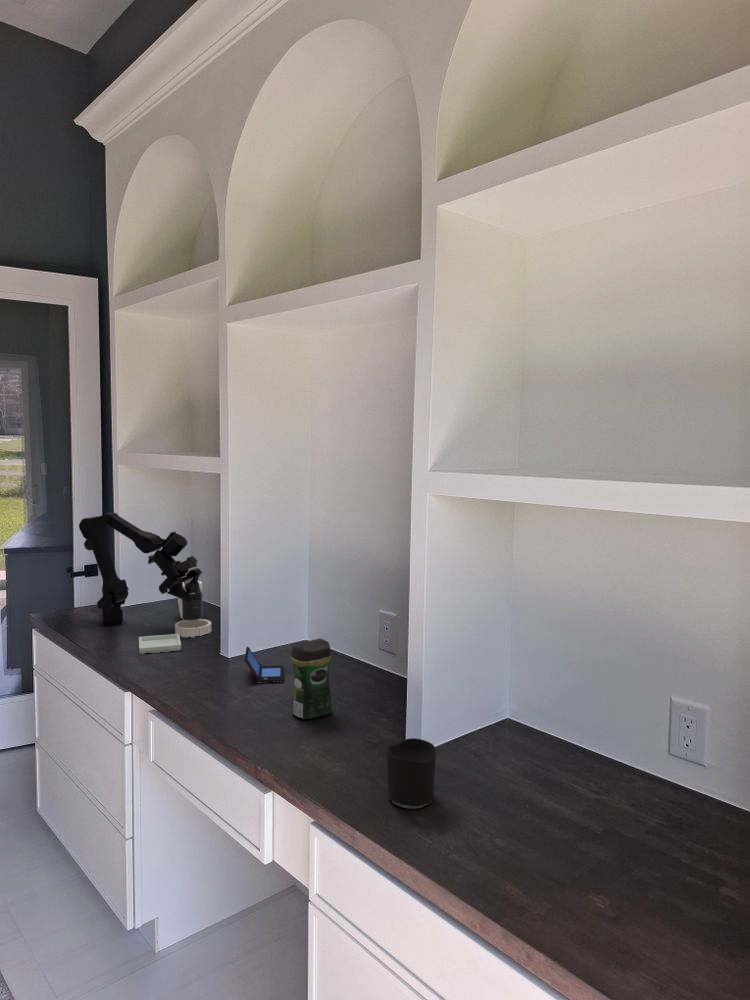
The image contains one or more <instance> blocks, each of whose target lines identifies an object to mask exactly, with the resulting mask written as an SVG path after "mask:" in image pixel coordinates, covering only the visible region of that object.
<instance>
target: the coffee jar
mask: <svg viewBox="0 0 750 1000" xmlns="http://www.w3.org/2000/svg"><path fill="white" fill-rule="evenodd" d="M331 652H332V651H331V645H330V643H329V641H327V640H326V639H324V638H321V637H319V638H317V639H312V640H307V641H302V642H295V643H293V644H292V645H291V653H290V654H291V658H290V660H291V662H292V665H293V675H294V676H293V686H292V687H293V689H292V691H293V692H292V701H291V712H292V714H293V716H294V715H295V716H297V717H299V718H303V719H302V720H304V719H310V718H315V717H319V718H321V717H320V716H322V717H325V716H328V715H330V714H331V713H332V711H333V710H332V709H333V708H332V707H333V704H332V703H333V702H332V694H331V686H330V673H329V671H330V670H329V667H330V663H331V658H332V653H331ZM329 713H330V714H329ZM327 714H328V715H327ZM324 715H325V716H324ZM295 716H294V717H295ZM297 717H296V718H297ZM299 718H298V719H299ZM315 719H316V718H315Z"/></svg>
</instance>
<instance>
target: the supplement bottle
mask: <svg viewBox="0 0 750 1000" xmlns="http://www.w3.org/2000/svg"><path fill="white" fill-rule="evenodd" d="M199 589H200V587H199V583H186V584H185V590H186V593H187V594H188V595H189V597H190V599H191V602H187V601H185V600H183V599H182V618H183V619H182V620H184V619H185V620H198V619H202V618H203V611H204V610H203V609H204V608H203V596H202V595H203V593H202V590H201V591H199Z"/></svg>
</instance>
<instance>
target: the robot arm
mask: <svg viewBox="0 0 750 1000" xmlns="http://www.w3.org/2000/svg"><path fill="white" fill-rule="evenodd" d="M106 527H110V528H111V529H113V530H114V531H116V532H118V533H120V534H122V535H123V536H124V537H126V538H128V539H129V540H131V541H132V542H133V543H134V546H135V547H136V548H137V549H138V550H139V551H140V552H141V553H143V554H150V555H148V559H147V564H148V565H151V564H153V563H154V564H155V565H156V566H157V567H158V569H159V570H160V571H161V573H160V575H161V576H162V577H163V576H165V577H166V578H165V579H164V580H163V581H162V582H161V583H160V584H159V586H158V591H159V592H160V593H161V594H162V595H164V594H167V595H170V596H174V597H176V598H177V597H178V598H180V599H183V600H185V601H187V602H191V599H190V597H189V595H188V594H187V593H186V591H185V590H184V588H183V585H182V582H184V583H185V584H186V583H198V581H199V578H200V576H201V575H202V574H203V572H202V570H201V569H200V568H198V567H197V566H198V565H197V564H198V559H196V557H195V556H194V555H191V556H189V557H186V559H185V560H184V561H181V560H176V559H175V558H174V557H177V556H178V555H180V553H181V552H182V551H183V550H184V549H185V548H186V547H187V545H188V540H187V539H186V537H184V536H183V535H181V534H179V533H177V532H176V531H172V532H170V533H169V534H168V535H167V537H166V538H162V537H161V536H160V535H158V534H155V533H153V532H150V531H145V530H142V529H141V528H139V527H137V526H136V525H134V524H132V523H131V522H129V521H128V520H126V519H125V518H123V517H121V516H120V515H118V513H117V512H108V513H104V514H103V515H99V516H97V515H95V516H92V517H91V516H90V517H85V518H82V519H81V520H80V522H79V524H78V528H79V531H80V534H81V535H82V537H83V538H84V539H85V540H86V541H87V542H89V544H90V546H91V550H92V552H93V555H94V558H95V560H96V564H97V567H98V570H99V573H100V575H101V578H102V582H103V583H102V587H101V592H102V593H101V594H102V597H101V598H100V599H99V600H98V601H97V602H96V606H97V608H98V609H101V611H102V612H101V613H102V614H101V615H102V624H101V625H102V626H116V625H122V623H123V621H124V610H123V609H124V608H122V605H125V603H126V599H128V596H129V590H130V589H129V587H128V585H127V581H126V580H125V579H121V578H119V576H118V574H117V572H116V568H115V566H114V563H113V560H112V557H111V554H110V551H109V548H108V545H107V542H106V540H105V539H106V538H105V537H106V533H107V529H106ZM153 552H154V554H151V553H153ZM196 567H197V568H196ZM199 591H201V592H202V590H200V589H199ZM203 596H204V595H203V594H202V597H203ZM178 598H177V599H178Z"/></svg>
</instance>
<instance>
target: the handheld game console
mask: <svg viewBox="0 0 750 1000" xmlns="http://www.w3.org/2000/svg"><path fill="white" fill-rule="evenodd" d="M245 649H246V650H245V654H244V662H245V663H246V665H247V667H248V669H249V670H250V671H251V673H252V674H253V676H254V677H255V679H256V683H257V682H273V681H276V682H277V681H279V682H280V681H283V680H284V676H285V669H284V668H285V666H284V665H279V664H278V665H262V664H261V663H260V662H259V661H258V659H257V657H256V656H255V655H254V653H253V651H252V650H251V649H250V647H249V646H246V648H245ZM283 682H284V681H283Z"/></svg>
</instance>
